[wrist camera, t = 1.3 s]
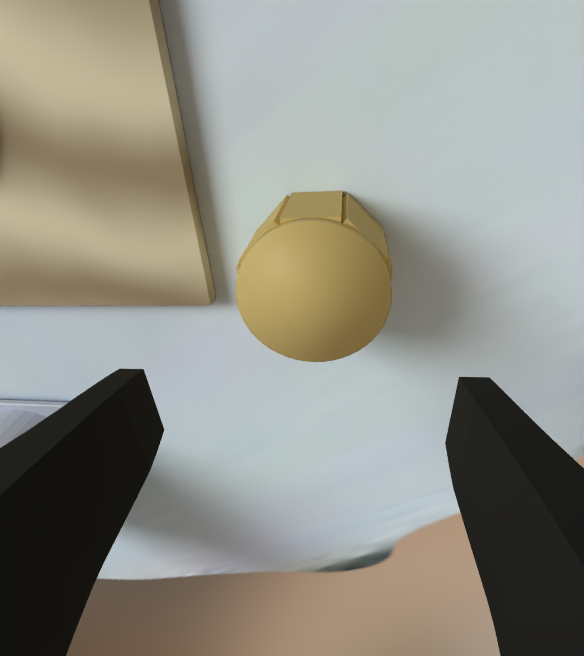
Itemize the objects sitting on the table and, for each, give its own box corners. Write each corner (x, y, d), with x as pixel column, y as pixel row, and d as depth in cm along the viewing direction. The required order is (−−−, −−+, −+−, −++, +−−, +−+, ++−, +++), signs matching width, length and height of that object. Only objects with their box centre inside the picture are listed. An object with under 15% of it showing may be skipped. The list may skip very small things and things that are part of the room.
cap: (379, 310, 18) (386, 363, 15) (264, 310, 19) (246, 360, 15) (386, 189, 15) (397, 220, 12) (250, 194, 16) (224, 225, 12)
